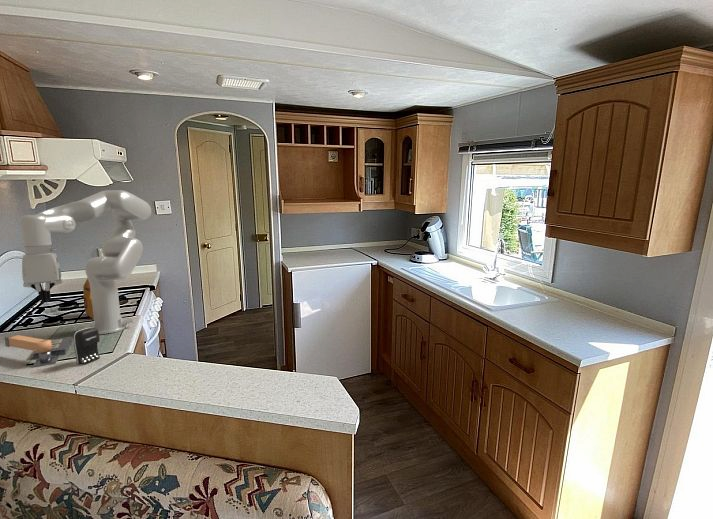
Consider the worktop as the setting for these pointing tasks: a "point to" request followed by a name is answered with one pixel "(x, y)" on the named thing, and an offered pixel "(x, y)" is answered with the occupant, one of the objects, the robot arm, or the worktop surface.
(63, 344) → the label panel
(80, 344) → the battery charger
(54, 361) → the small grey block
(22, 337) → the swing bar
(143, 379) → the worktop surface
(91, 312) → the coffee package
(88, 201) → the robot arm
